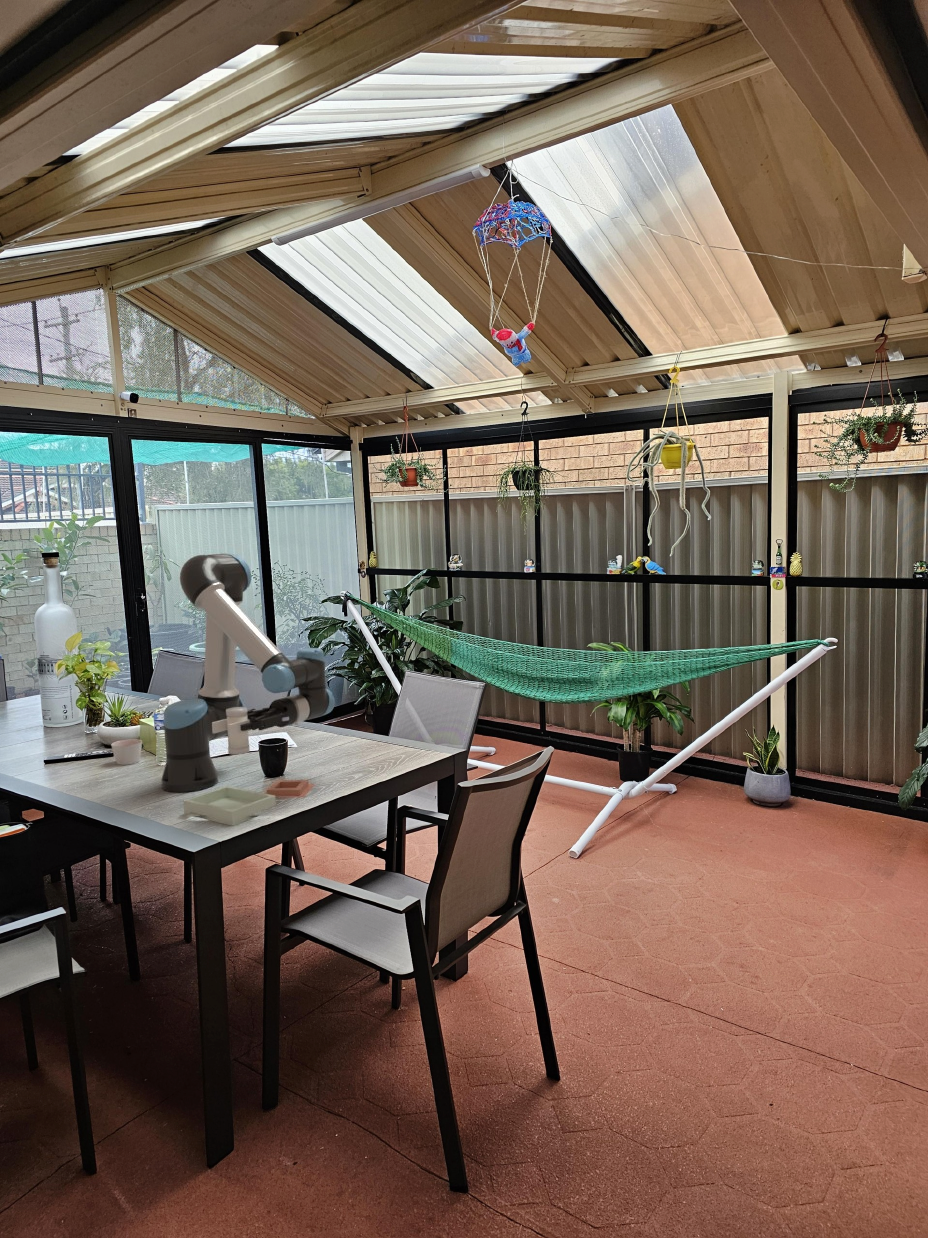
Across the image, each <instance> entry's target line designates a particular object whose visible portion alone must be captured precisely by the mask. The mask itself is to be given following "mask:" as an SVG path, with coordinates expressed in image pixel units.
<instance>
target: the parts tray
mask: <svg viewBox="0 0 928 1238" xmlns="http://www.w3.org/2000/svg"><path fill="white" fill-rule="evenodd" d="M275 806H277V802H276V798H275V795H270V794H265V793H264V792H258V791H255V790H249V789H245V788H240V787H234V786H230V785H226V786H223V787H219V788H217V789H214V790H211V791H208V792H205V793H201V794H199V795H196V796H194V797H193V796H192V797H190V798H187V799H184V800H183V813H184V815H189V814H191V813H193V814H198V815H193V817H194V818H200V819H203V820H208V821H212V822H216V823H220V824H223V825H224V824H225V825H227V826H237V825H239V824H241V823H244V822H246V821H249V820H252V819H254V818H256V817H259V816H260V815H259V814H257V813H260V812H262V811H265V810H268V809H270V808H272V807H273V808H274V807H275ZM255 814H257V815H255Z"/></svg>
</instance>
